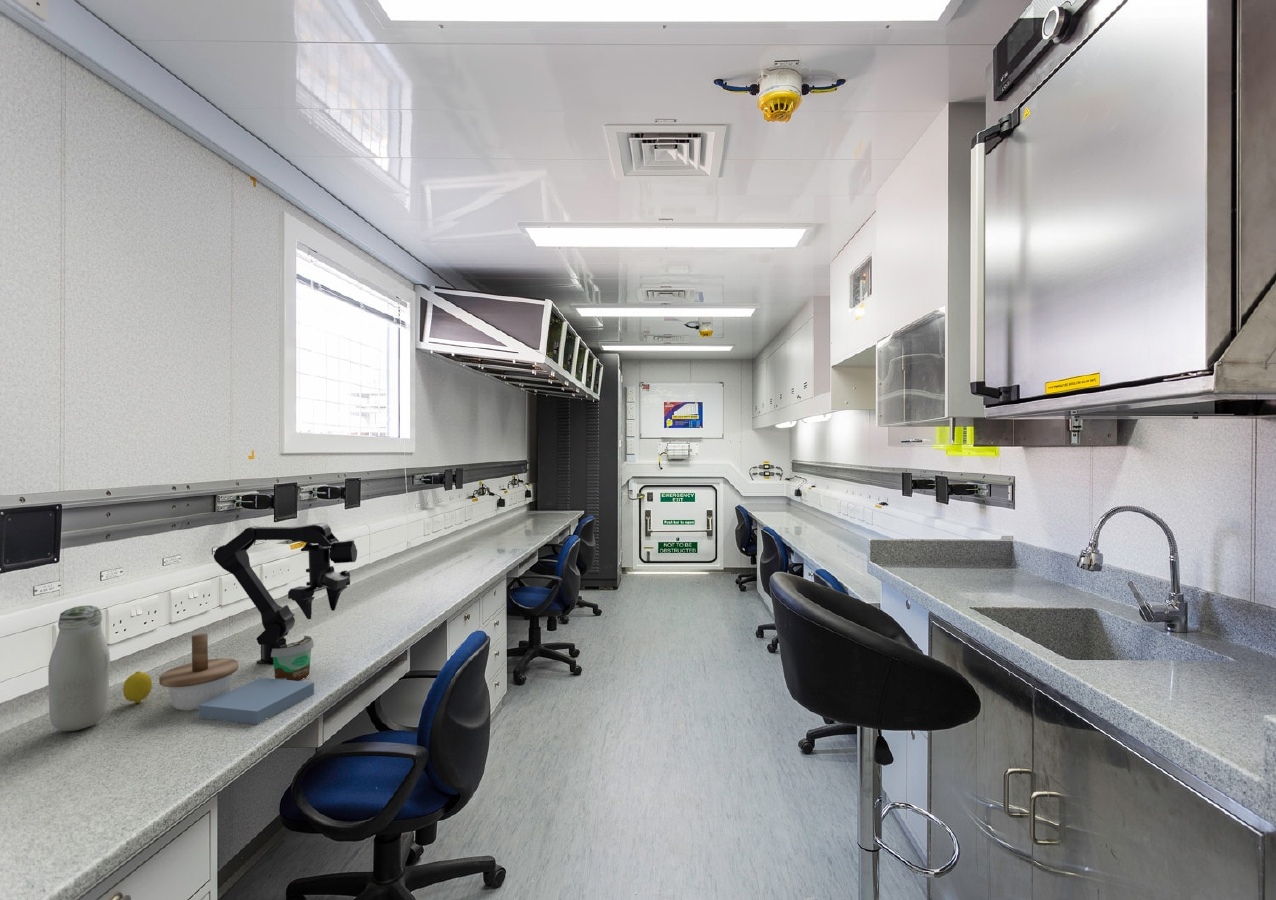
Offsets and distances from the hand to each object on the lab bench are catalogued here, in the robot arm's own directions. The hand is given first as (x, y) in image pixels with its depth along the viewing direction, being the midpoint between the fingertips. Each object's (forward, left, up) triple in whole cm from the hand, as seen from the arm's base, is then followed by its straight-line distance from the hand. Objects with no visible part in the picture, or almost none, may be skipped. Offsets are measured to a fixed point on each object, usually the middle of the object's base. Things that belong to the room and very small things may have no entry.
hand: (321, 614), depth 177 cm
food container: (+6, -16, -13) cm, 22 cm away
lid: (-7, -33, -6) cm, 35 cm away
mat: (+11, -32, -13) cm, 37 cm away
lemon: (-21, -37, -13) cm, 45 cm away
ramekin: (-7, -33, -13) cm, 36 cm away
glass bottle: (-20, -50, -13) cm, 56 cm away
